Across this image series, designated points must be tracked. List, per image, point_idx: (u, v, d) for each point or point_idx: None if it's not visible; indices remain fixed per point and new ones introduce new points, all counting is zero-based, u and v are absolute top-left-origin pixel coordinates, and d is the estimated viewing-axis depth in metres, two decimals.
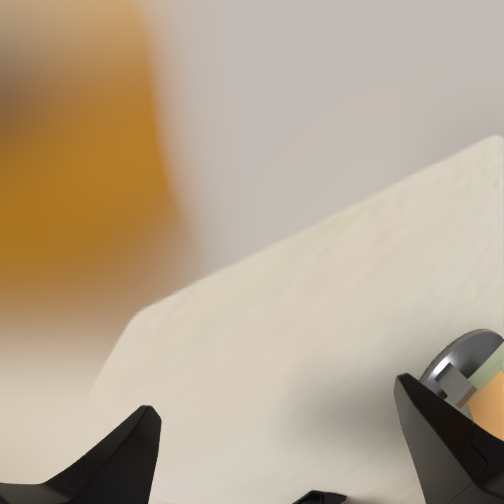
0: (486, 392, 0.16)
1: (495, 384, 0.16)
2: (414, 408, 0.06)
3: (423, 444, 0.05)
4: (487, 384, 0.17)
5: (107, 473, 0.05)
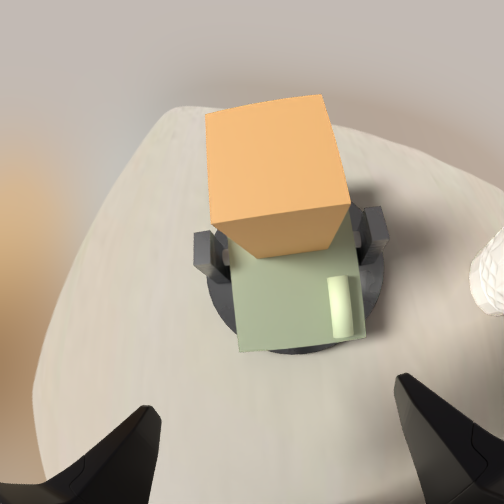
0: None
1: None
2: (414, 408, 0.06)
3: (423, 444, 0.05)
4: None
5: (107, 473, 0.05)
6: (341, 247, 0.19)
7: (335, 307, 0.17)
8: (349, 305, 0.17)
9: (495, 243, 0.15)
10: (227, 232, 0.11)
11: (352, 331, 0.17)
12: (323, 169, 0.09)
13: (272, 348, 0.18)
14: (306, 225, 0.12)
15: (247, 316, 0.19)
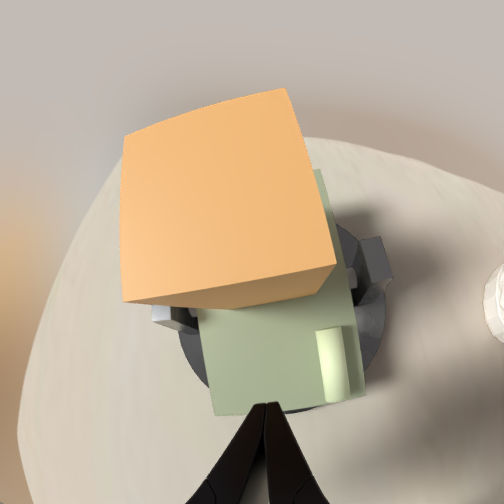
0: None
1: None
2: (264, 440, 0.06)
3: None
4: None
5: (242, 494, 0.05)
6: (332, 290, 0.15)
7: (326, 368, 0.13)
8: (344, 363, 0.13)
9: None
10: (159, 304, 0.08)
11: (348, 393, 0.13)
12: (288, 206, 0.06)
13: None
14: (273, 288, 0.08)
15: (221, 377, 0.15)
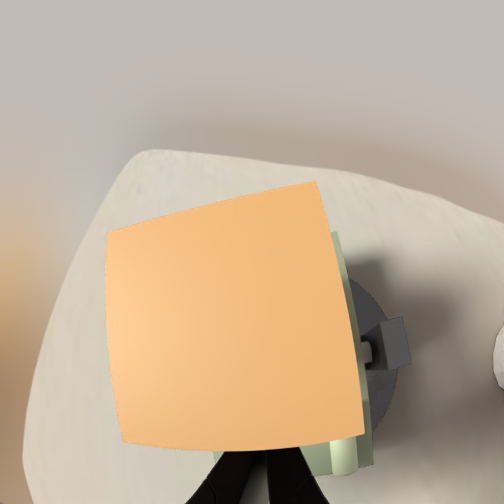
0: None
1: None
2: None
3: None
4: None
5: (242, 494, 0.05)
6: None
7: (336, 446, 0.11)
8: (353, 441, 0.11)
9: None
10: None
11: (356, 466, 0.10)
12: (316, 370, 0.04)
13: None
14: None
15: None
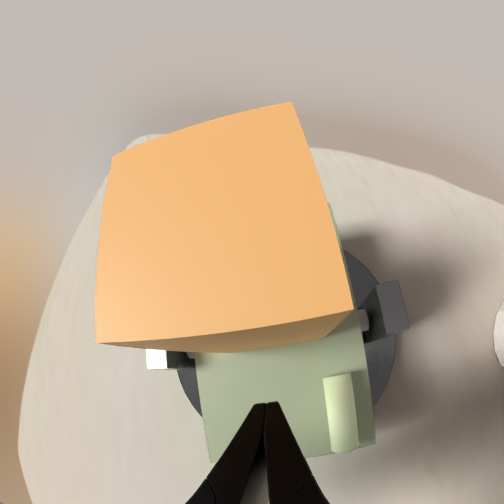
0: None
1: None
2: (264, 440, 0.06)
3: None
4: None
5: (242, 494, 0.05)
6: (342, 334, 0.13)
7: (334, 417, 0.11)
8: (353, 412, 0.11)
9: None
10: (142, 347, 0.06)
11: (357, 442, 0.10)
12: (294, 236, 0.05)
13: None
14: (274, 335, 0.06)
15: (218, 423, 0.13)
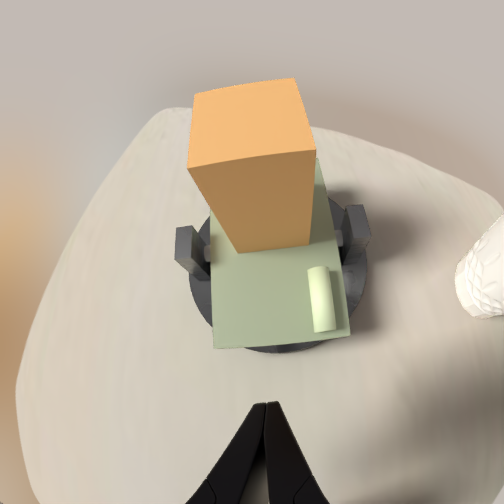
0: None
1: None
2: (264, 440, 0.06)
3: None
4: None
5: (242, 494, 0.05)
6: (322, 243, 0.19)
7: (316, 299, 0.16)
8: (330, 297, 0.16)
9: (481, 244, 0.16)
10: (203, 188, 0.12)
11: (334, 325, 0.16)
12: (291, 125, 0.10)
13: (249, 345, 0.17)
14: (279, 186, 0.12)
15: (224, 310, 0.18)
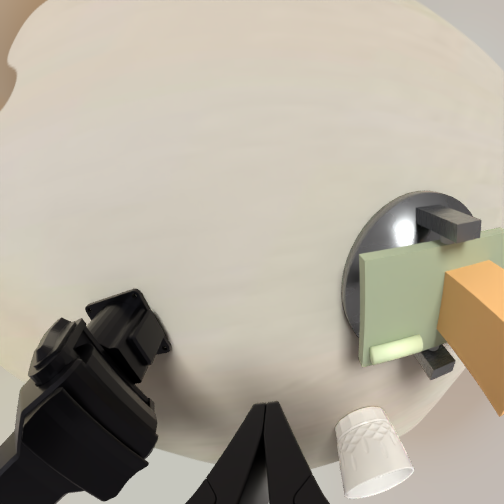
0: (474, 269, 0.15)
1: (484, 267, 0.15)
2: (264, 440, 0.06)
3: None
4: (471, 264, 0.16)
5: (242, 494, 0.05)
6: (434, 338, 0.18)
7: (399, 350, 0.17)
8: (397, 358, 0.17)
9: (393, 436, 0.21)
10: None
11: (376, 363, 0.17)
12: None
13: (366, 294, 0.17)
14: (492, 375, 0.10)
15: (400, 266, 0.16)
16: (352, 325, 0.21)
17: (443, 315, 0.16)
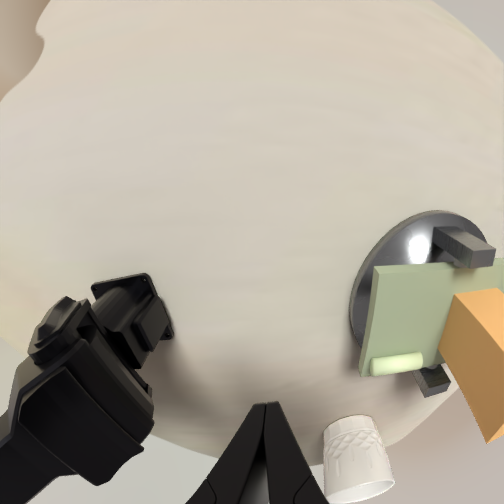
0: (482, 295, 0.14)
1: (492, 294, 0.14)
2: (264, 440, 0.06)
3: None
4: (480, 290, 0.15)
5: (242, 494, 0.05)
6: (433, 357, 0.18)
7: (400, 365, 0.17)
8: (396, 372, 0.17)
9: (379, 447, 0.22)
10: None
11: None
12: None
13: (376, 307, 0.16)
14: (485, 402, 0.10)
15: (412, 284, 0.16)
16: (356, 334, 0.21)
17: (446, 336, 0.16)
